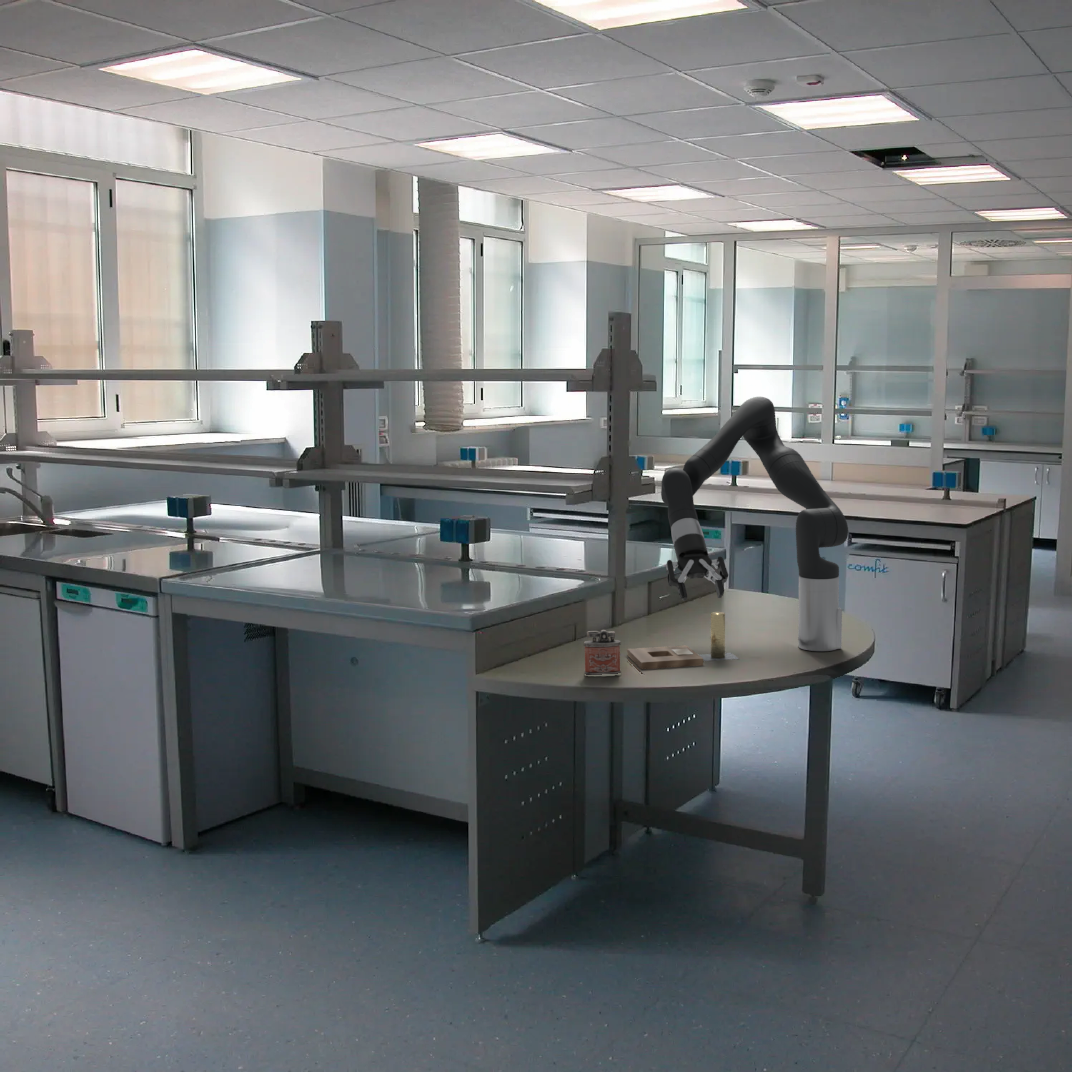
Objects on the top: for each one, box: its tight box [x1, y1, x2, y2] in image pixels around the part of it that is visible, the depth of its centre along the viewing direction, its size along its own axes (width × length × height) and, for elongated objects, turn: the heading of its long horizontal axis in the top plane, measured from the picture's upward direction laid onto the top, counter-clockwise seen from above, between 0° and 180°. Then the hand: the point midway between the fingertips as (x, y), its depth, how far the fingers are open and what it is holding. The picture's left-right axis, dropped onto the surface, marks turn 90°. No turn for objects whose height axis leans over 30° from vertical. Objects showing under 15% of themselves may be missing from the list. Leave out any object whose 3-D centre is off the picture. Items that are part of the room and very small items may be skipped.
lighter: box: [583, 629, 622, 675], centre depth 246 cm, size 8×3×10 cm, turn 92°
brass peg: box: [710, 611, 726, 658], centre depth 254 cm, size 3×3×10 cm
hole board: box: [626, 644, 704, 674], centre depth 252 cm, size 14×13×3 cm
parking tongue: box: [698, 652, 740, 662], centre depth 254 cm, size 8×6×2 cm
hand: (702, 597), depth 263 cm, fingers open, 8 cm apart
